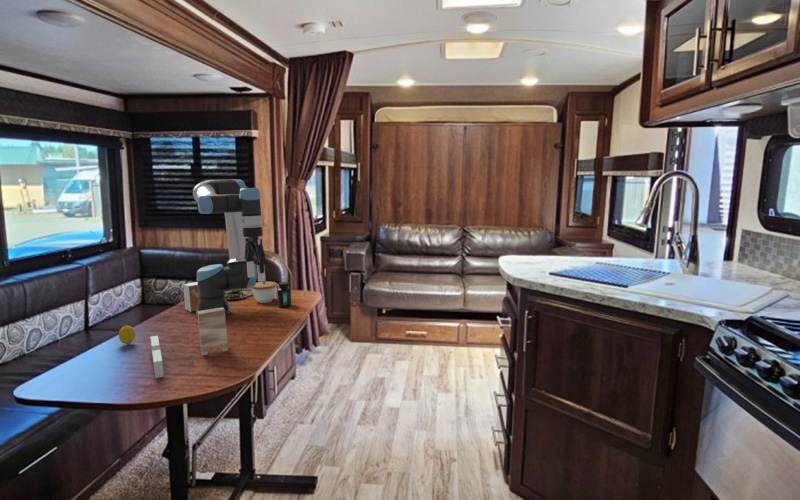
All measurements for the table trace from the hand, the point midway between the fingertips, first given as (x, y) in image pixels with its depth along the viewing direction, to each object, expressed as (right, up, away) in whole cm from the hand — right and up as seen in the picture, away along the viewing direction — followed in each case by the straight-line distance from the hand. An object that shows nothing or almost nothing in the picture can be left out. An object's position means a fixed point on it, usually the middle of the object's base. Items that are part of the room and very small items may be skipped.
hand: (256, 279), depth 184 cm
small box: (-43, -18, +41) cm, 62 cm away
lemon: (-49, -26, -6) cm, 55 cm away
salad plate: (-33, -14, +63) cm, 73 cm away
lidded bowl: (-12, -15, +54) cm, 58 cm away
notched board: (-28, -28, -23) cm, 46 cm away
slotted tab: (-11, -26, -14) cm, 32 cm away
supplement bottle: (0, -17, +45) cm, 48 cm away
